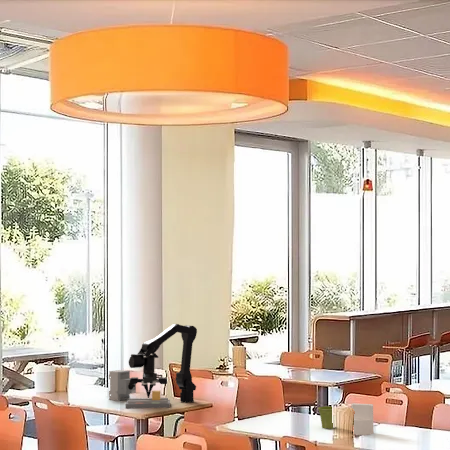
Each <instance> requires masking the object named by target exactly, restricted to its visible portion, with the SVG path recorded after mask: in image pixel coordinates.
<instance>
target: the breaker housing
mask: <svg viewBox="0 0 450 450" xmlns="http://www.w3.org/2000/svg"><path fill="white" fill-rule="evenodd" d="M170 407H171V399H169V397H160V400H152V397H149V398H148V397H143V398H142V397H140V398H137V397H135V398H134V397H133V398H131V397H130V399H127V400H126V402H125V409H155V408H156V409H157V408H158V409H161V408H163V409H164V408H170Z"/></svg>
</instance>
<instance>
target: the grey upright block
mask: <svg viewBox="0 0 450 450" xmlns="http://www.w3.org/2000/svg"><path fill="white" fill-rule="evenodd" d="M351 408H353V409H354V411H355V414H354V434H353V435H357V436H371V435H373V434H374V432H375V431H374V404H372V403H371V404H370V403H351Z"/></svg>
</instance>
